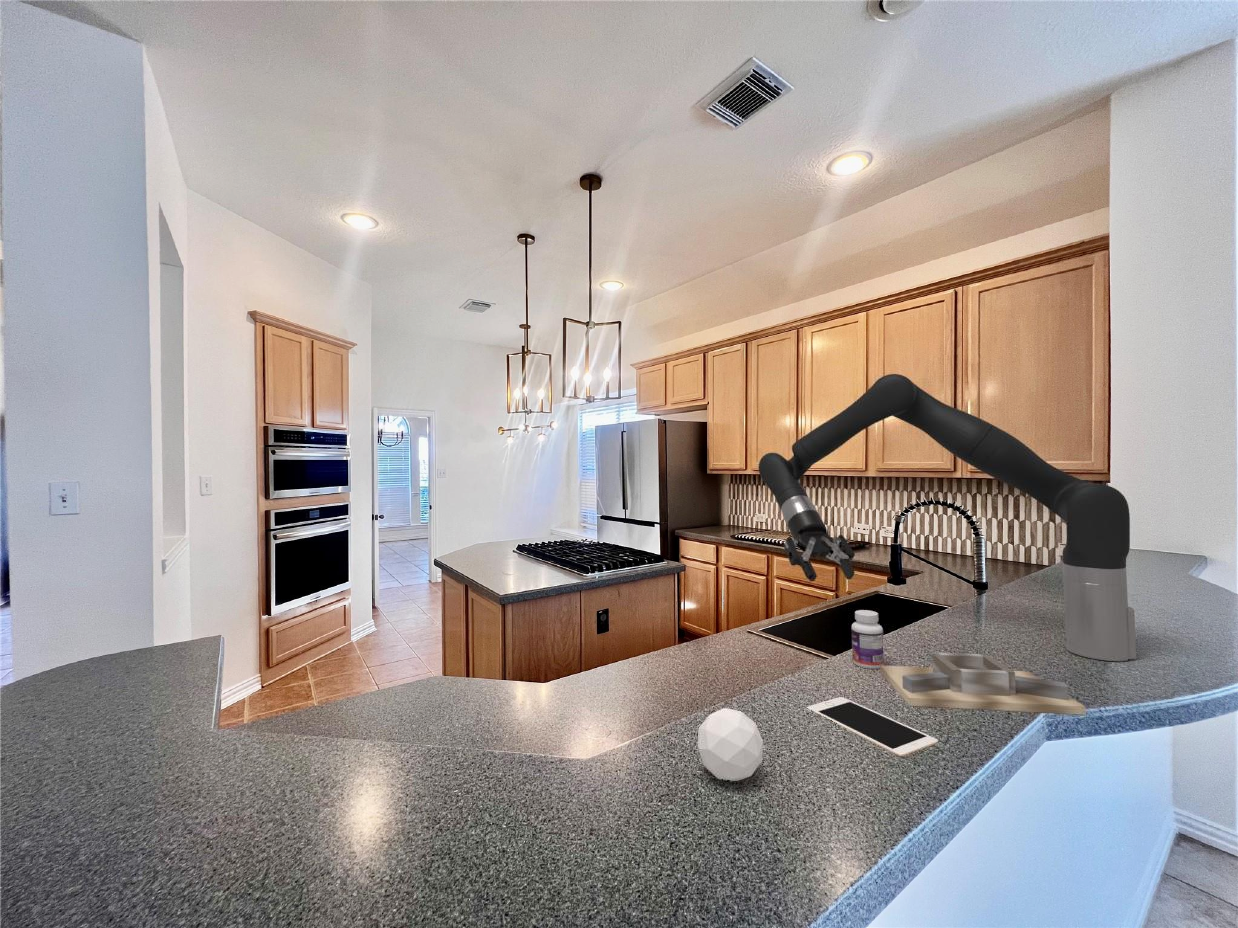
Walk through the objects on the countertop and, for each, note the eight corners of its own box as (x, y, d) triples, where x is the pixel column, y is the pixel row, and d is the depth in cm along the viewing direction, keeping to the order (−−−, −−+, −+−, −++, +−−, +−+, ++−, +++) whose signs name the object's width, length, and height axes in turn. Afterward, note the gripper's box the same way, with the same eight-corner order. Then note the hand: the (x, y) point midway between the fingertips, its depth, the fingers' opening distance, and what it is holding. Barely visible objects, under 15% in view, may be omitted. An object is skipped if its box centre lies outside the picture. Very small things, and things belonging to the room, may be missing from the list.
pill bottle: (852, 657, 103) (850, 607, 103) (882, 661, 100) (881, 610, 101) (852, 667, 98) (851, 614, 98) (885, 670, 96) (883, 617, 96)
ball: (733, 788, 65) (754, 723, 69) (761, 800, 58) (783, 728, 61) (679, 758, 65) (702, 695, 69) (700, 767, 58) (725, 696, 62)
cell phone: (841, 700, 85) (841, 696, 85) (939, 744, 70) (939, 739, 70) (805, 710, 81) (805, 706, 81) (901, 759, 67) (901, 754, 67)
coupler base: (1028, 678, 91) (1027, 651, 91) (1085, 714, 77) (1084, 682, 77) (880, 672, 95) (879, 646, 95) (909, 705, 81) (908, 674, 81)
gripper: (779, 509, 118) (807, 569, 106) (837, 507, 121) (870, 566, 109) (769, 531, 123) (795, 590, 112) (824, 528, 126) (855, 586, 114)
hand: (832, 578), depth 110 cm, fingers open, 8 cm apart
